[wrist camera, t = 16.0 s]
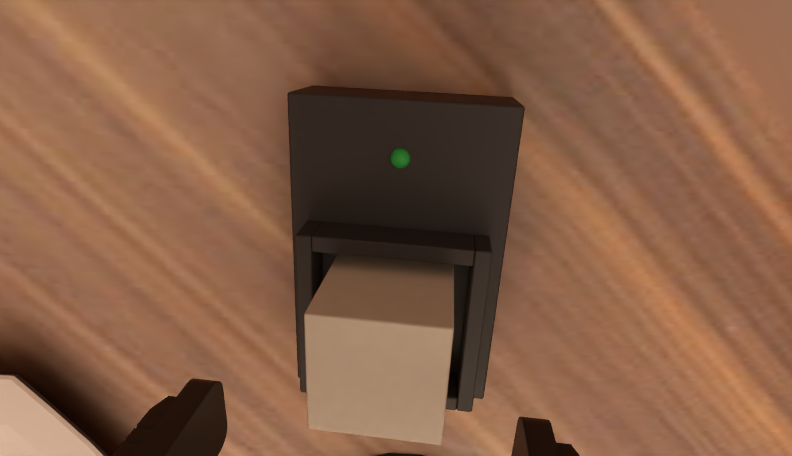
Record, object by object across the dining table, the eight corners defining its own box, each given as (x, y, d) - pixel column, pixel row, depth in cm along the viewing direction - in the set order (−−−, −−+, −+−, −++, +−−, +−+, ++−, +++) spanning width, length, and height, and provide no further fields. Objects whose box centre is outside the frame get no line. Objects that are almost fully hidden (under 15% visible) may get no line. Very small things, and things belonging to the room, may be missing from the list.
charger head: (337, 252, 18) (303, 313, 14) (454, 262, 17) (453, 328, 13) (337, 352, 19) (307, 433, 15) (443, 363, 19) (441, 449, 15)
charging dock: (311, 85, 19) (270, 96, 15) (514, 97, 18) (532, 112, 14) (316, 338, 23) (285, 402, 19) (479, 356, 22) (485, 426, 18)
